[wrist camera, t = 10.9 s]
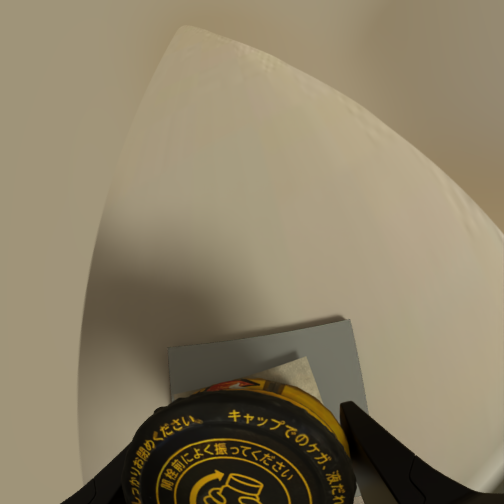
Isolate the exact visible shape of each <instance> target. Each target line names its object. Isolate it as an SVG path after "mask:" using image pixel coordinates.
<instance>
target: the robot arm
mask: <svg viewBox="0 0 504 504" xmlns="http://www.w3.org/2000/svg"><path fill="white" fill-rule="evenodd" d="M340 424H341V427H342V429H343V430H344V433H345V435H346V437H347V441H348V444H349V451H350V458H351V461H352V468H353V471H354V473H355V476H356V479H357V485H358V487H359V490H360V493H361V496H362V499H363V501H364V504H504V493H482V492H477V491H474V490H471V489H469V488H467V487H465V486H463V485H462V484H460V483H458V482H456V481H454V480H452V479H451V478H449V477H447V476H445V475H443V474H442V473H440V472H439V471H437V470H435V469H434V468H432V467H431V466H430V465H428V464H427V463H426V462H424V461H423V460H422V459H420V458H419V457H418V456H417V455H415V454H414V453H413V452H412V451H411V450H409V449H408V448H407V447H406V446H404V445H403V444H402V443H401V442H400V441H398V440H397V439H396V438H395V437H394V436H392V435H391V434H390V433H389V432H388V431H387V430H385V429H384V428H383V427H382V426H381V425H380V424H378V423H377V422H376V421H375V420H374V419H373V418H371V417H370V416H369V415H368V414H367V413H366V412H364V411H363V410H362V409H361V408H360V407H359V406H358V405H356V404H355V403H354V402H353V401H346V402H342V403H340ZM130 445H131V443H130V444H129V445H128V446H127V447H126V448H125V449H124V450H122V451H121V452H120V453H119V454H118V455H117V456H116V457H115V458H114V459H113V460H112V461H111V462H110V463H109V464H108V465H107V466H106V467H105V468H103V469H102V470H101V471H100V472H99V473H98V474H97V475H96V476H95V477H94V478H93V479H91V480H90V481H89V482H88V483H87V484H86V485H85V486H84V487H82V488H81V489H80V490H79V491H77V492H76V493H75V494H74V495H72V496H71V497H69V498H68V499H66V500H65V501H63V502H62V503H60V504H127V503H126V501H125V497H124V493H123V489H122V484H121V476H122V471H123V467H124V462H125V458H126V453H127V450H128V449H129V447H130Z"/></svg>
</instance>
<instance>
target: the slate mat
mask: <svg viewBox="0 0 504 504" xmlns="http://www.w3.org/2000/svg"><path fill="white" fill-rule="evenodd" d="M305 356H306V357H307V360H308V362H309V365H310V368H311V371H312V373H313V376H314V379H315V382H316V384H317V388H318V390H319V393H320V396H321V399H322V402H323V405H324V406H325V407H326V408H327V409H329V410H330V411H331V412H332V414H333V415H334V416H335V418H336V419H337V421H338V423H339V424H340V403H342V402H346V401H353V402H354V403H355V404H356V405H358V406H359V407H360V408H361V409H362V410H363V411H364V412H366V413H367V414H368V407H367V401H366V395H365V390H364V384H363V378H362V373H361V368H360V363H359V358H358V353H357V348H356V343H355V339H354V334H353V330H352V325H351V321H350V319H348V320H344V321H339V322H334V323H330V324H325V325H320V326H315V327H310V328H304V329H299V330H294V331H288V332H282V333H277V334H270V335H264V336H258V337H251V338H245V339H238V340H230V341H223V342H215V343H206V344H197V345H188V346H178V347H168V360H169V374H170V386H171V397H172V402H173V401H175V399H174V394H178V393H183V392H187V391H192V390H196V389H200V388H204V387H208V386H211V385H213V384H218V383H221V382H226V381H231V380H234V379H238V378H242V377H245V376H249V375H252V374H255V373H258V372H262V371H265V370H268V369H271V368H274V367H277V366H280V365H283V364H286V363H289V362H292V361H294V360H297V359H300V358H303V357H305ZM368 415H369V414H368ZM340 425H341V424H340ZM356 484H357V482H356ZM358 496H361V493H360V490H359V487H358V485H357V490H356V493H355V497H358Z"/></svg>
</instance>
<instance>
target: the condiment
mask: <svg viewBox="0 0 504 504" xmlns="http://www.w3.org/2000/svg"><path fill="white" fill-rule="evenodd" d="M174 399H175V401H173V402H172V403H171V404H169V405H168V406H166V407H159V408H157V409H156V410H155V411H154V414H153V415H151V416H150V417H149V418H148V419H147V420H146V421H145V422H144V423H143V424H142V425H141V426H140V427H139V429H138V430H137V432H136V433H135V435H134V437H133V440H132V442H131V445H130V447H129V449H128V450H127V453H126V458H125V462H124V467H123V471H122V476H121V484H122V489H123V493H124V497H125V501H126V503H127V504H353V501H354V497H355V493H356V490H357V484H356V482H357V479H356V476H355V473H354V471H353V468H352V461H351V458H350V451H349V444H348V441H347V437H346V435H345V433H344V430H343V429H342V427H341V425H340V424H339V423H338V421H337V419H336V418H335V416H334V415H333V414H332V412H331V411H330V410H329V409H327V408H326V407H325V406H324V405H323V402H322V399H321V396H320V393H319V390H318V388H317V384H316V382H315V379H314V376H313V373H312V371H311V368H310V365H309V362H308V360H307V357H306V356H305V357H303V358H300V359H297V360H294V361H292V362H289V363H286V364H283V365H280V366H277V367H274V368H271V369H268V370H265V371H262V372H258V373H255V374H252V375H249V376H245V377H242V378H238V379H234V380H231V381H226V382H221V383H218V384H213V385H211V386H208V387H204V388H200V389H196V390H192V391H187V392H183V393H178V394H174Z"/></svg>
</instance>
